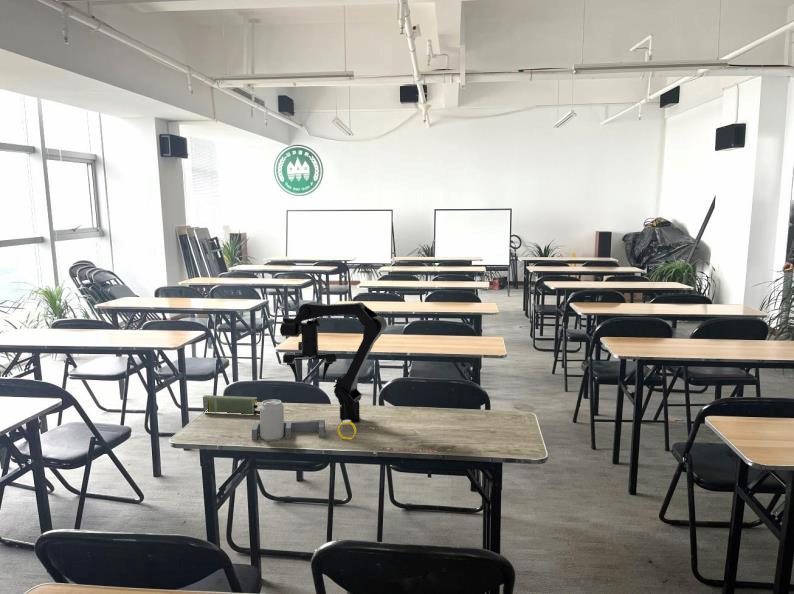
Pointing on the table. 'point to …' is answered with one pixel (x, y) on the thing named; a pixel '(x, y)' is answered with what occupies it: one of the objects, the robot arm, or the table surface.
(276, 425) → the can
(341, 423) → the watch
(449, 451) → the table surface
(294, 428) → the comb rack
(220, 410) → the handheld radio
